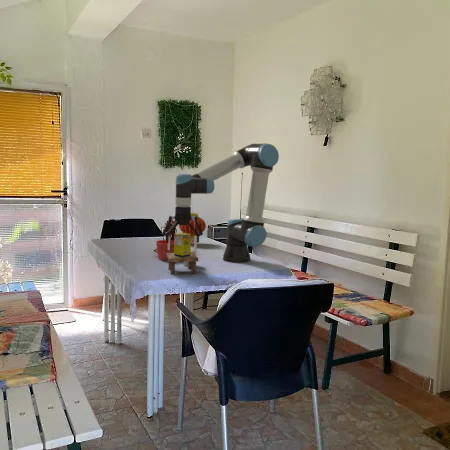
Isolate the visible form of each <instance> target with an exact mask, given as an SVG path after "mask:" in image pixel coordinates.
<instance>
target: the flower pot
mask: <svg viewBox="0 0 450 450" xmlns="http://www.w3.org/2000/svg"><path fill="white" fill-rule="evenodd" d="M155 243H156V250H157V257H158V258H157V259H158V260H160V261H161V260H162V261H169V260H168V258H167V256H166V253H174V240H171V239H170V250H168V243H166V239H159V240H156V241H155Z"/></svg>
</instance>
